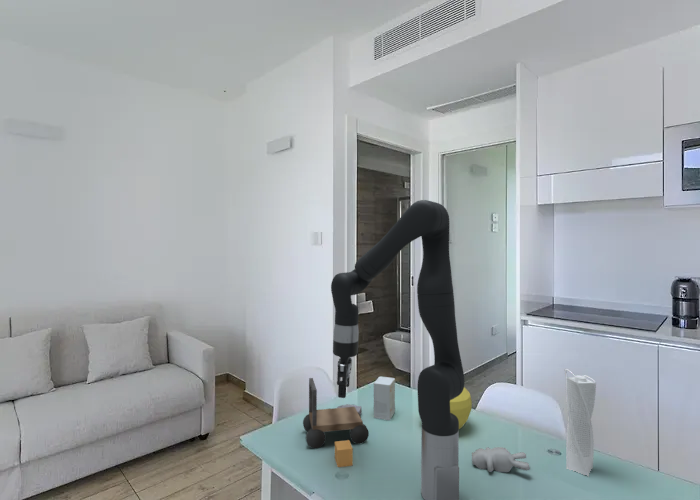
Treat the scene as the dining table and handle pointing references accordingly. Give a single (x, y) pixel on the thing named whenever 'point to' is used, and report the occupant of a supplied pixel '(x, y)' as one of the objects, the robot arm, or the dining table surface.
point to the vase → (461, 407)
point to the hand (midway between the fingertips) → (343, 391)
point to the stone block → (352, 406)
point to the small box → (384, 398)
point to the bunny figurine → (498, 459)
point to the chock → (343, 453)
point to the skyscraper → (580, 423)
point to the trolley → (331, 421)
